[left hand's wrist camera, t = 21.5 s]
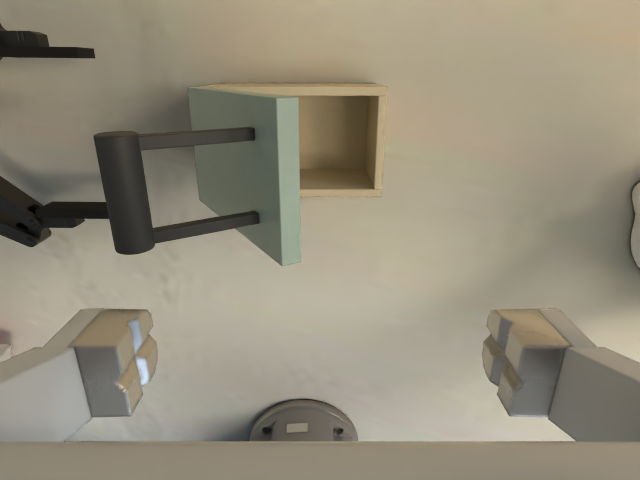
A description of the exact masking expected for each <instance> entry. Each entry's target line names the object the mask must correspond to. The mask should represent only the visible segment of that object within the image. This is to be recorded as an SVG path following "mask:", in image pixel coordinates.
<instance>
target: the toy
mask: <svg viewBox="0 0 640 480" xmlns="http://www.w3.org/2000/svg"><path fill="white" fill-rule="evenodd" d="M10 358H12V356H11V345H8V344H0V363H1V362H3V361H5V360H8V359H10Z"/></svg>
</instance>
